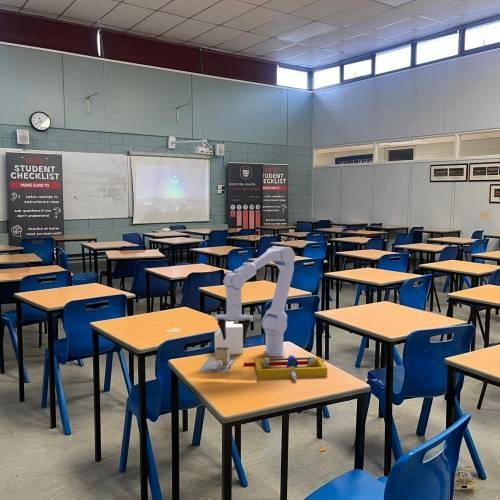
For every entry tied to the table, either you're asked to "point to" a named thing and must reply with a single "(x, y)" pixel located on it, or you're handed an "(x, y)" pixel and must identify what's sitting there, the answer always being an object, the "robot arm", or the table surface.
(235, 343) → the corner bracket
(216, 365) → the shaft stand
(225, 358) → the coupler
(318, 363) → the mechanical clamp
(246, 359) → the table surface
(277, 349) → the robot arm
